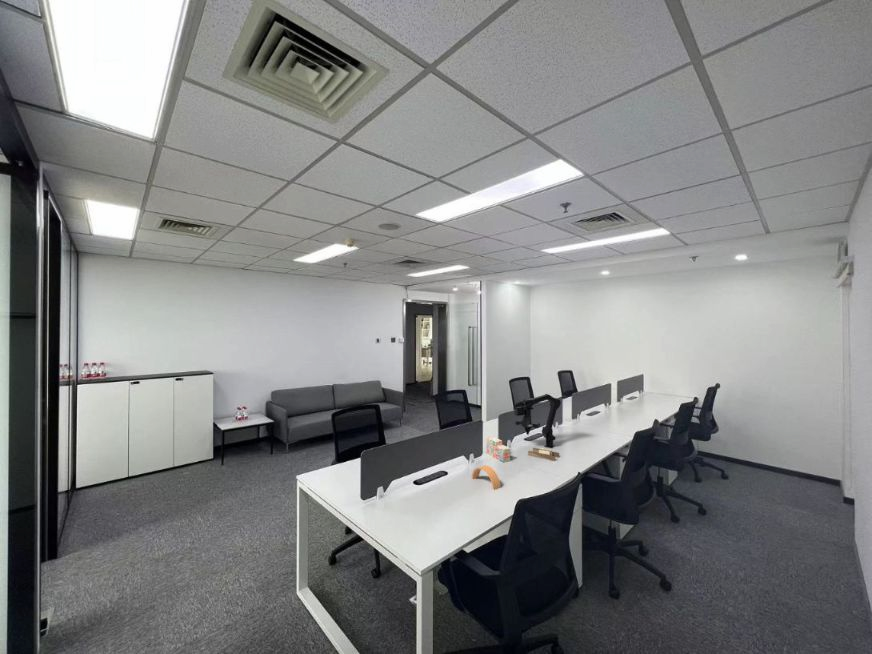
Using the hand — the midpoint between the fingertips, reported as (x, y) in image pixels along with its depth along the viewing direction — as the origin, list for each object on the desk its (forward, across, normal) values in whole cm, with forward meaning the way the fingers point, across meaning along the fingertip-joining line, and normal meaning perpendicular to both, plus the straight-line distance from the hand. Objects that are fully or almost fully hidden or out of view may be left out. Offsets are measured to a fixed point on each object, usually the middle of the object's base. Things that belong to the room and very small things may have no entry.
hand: (527, 434), depth 277 cm
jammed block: (+11, +18, -9) cm, 23 cm away
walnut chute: (+11, +16, -9) cm, 21 cm away
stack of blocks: (+11, -10, -31) cm, 34 cm away
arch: (+11, +4, -75) cm, 76 cm away
